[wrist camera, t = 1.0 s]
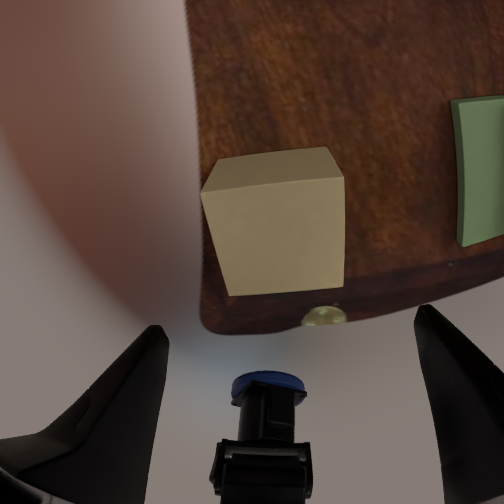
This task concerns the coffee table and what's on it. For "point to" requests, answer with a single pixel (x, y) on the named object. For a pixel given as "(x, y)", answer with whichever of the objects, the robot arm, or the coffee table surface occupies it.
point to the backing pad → (479, 167)
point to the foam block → (277, 221)
